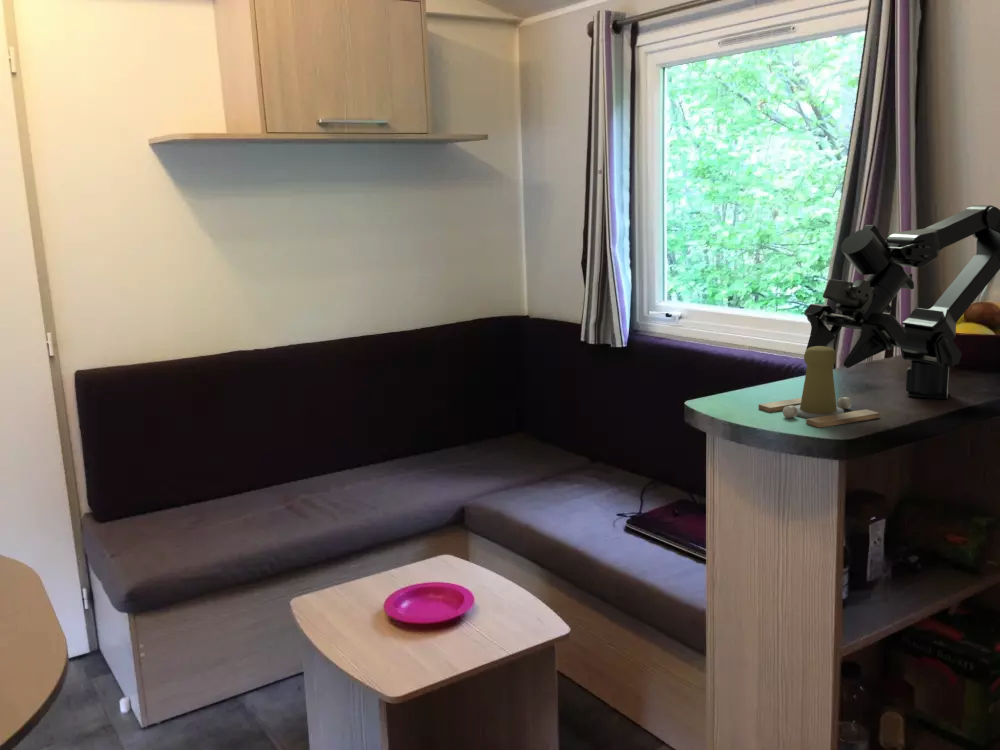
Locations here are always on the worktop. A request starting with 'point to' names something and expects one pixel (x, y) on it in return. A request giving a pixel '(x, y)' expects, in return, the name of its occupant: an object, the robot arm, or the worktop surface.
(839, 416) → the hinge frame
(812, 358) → the cork
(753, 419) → the worktop surface
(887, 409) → the worktop surface
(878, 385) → the worktop surface
